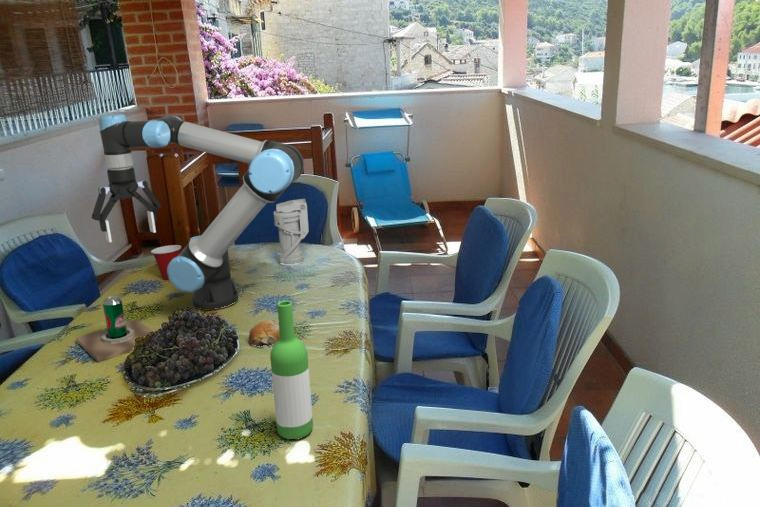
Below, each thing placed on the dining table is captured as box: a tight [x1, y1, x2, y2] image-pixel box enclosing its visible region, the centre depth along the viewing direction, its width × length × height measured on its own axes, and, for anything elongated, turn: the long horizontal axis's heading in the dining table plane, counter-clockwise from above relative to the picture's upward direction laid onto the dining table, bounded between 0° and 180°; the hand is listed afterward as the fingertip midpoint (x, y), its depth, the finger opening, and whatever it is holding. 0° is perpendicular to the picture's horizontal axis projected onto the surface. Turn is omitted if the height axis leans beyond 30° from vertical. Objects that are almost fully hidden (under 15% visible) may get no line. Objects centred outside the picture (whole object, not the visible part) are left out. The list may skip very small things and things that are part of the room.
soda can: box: [102, 295, 127, 339], centre depth 173 cm, size 5×5×12 cm
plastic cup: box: [150, 244, 182, 281], centre depth 225 cm, size 11×11×12 cm
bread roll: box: [248, 319, 280, 347], centre depth 172 cm, size 10×10×8 cm
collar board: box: [75, 319, 154, 363], centre depth 175 cm, size 18×18×2 cm
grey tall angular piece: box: [273, 198, 309, 264], centre depth 237 cm, size 13×10×25 cm
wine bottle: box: [269, 300, 314, 440], centre depth 125 cm, size 8×8×30 cm
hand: (131, 236), depth 184 cm, fingers open, 13 cm apart
